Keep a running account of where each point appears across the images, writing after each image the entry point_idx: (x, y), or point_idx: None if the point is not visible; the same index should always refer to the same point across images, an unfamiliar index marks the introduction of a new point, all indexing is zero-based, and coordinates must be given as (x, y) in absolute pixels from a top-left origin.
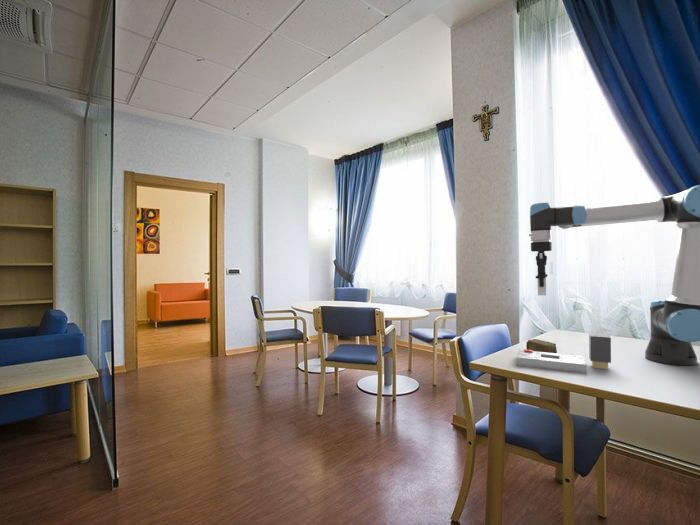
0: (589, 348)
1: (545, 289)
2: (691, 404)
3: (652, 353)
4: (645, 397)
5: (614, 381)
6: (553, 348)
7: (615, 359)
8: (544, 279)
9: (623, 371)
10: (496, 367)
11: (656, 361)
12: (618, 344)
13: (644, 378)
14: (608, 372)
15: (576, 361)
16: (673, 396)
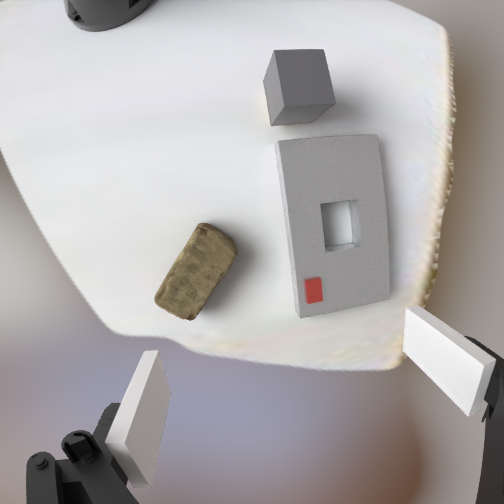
0: (282, 118)
1: (441, 321)
2: (432, 22)
3: (130, 6)
4: (445, 68)
5: (392, 92)
6: (217, 232)
7: (165, 76)
8: (488, 363)
9: None
10: None
11: (146, 7)
12: None
13: (331, 35)
14: None
15: (359, 157)
16: (414, 28)
